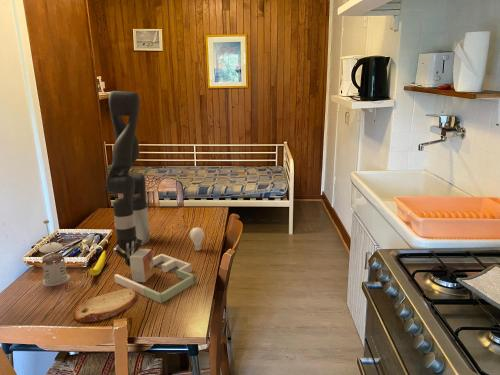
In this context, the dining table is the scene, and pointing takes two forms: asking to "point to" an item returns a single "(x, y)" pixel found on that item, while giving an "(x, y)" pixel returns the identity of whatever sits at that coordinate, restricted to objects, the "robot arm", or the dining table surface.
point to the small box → (141, 265)
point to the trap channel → (166, 265)
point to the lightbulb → (197, 237)
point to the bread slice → (105, 306)
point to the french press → (53, 272)
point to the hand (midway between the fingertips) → (129, 265)
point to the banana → (98, 265)
